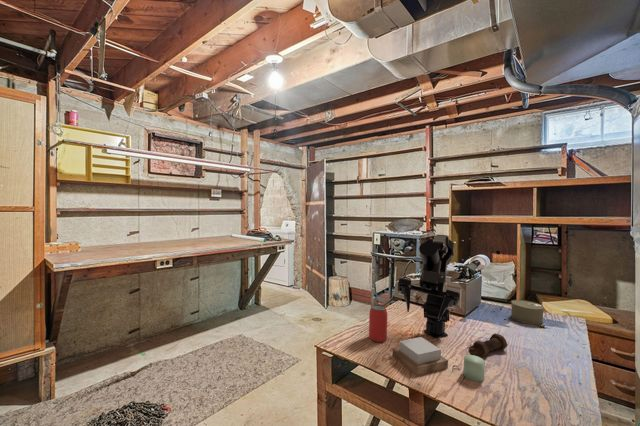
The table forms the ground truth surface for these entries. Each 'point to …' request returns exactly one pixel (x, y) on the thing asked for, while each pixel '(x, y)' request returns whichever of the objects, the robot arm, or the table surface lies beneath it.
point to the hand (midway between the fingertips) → (423, 315)
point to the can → (527, 312)
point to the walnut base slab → (422, 367)
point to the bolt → (488, 345)
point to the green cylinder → (474, 368)
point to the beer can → (378, 323)
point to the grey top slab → (419, 350)
